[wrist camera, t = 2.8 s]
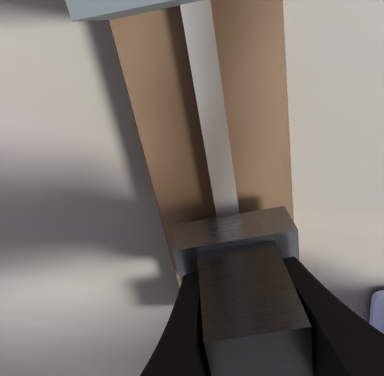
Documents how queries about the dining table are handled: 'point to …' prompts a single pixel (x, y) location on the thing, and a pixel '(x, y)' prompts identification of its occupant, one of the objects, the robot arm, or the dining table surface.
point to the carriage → (247, 292)
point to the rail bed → (210, 106)
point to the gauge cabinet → (116, 8)
